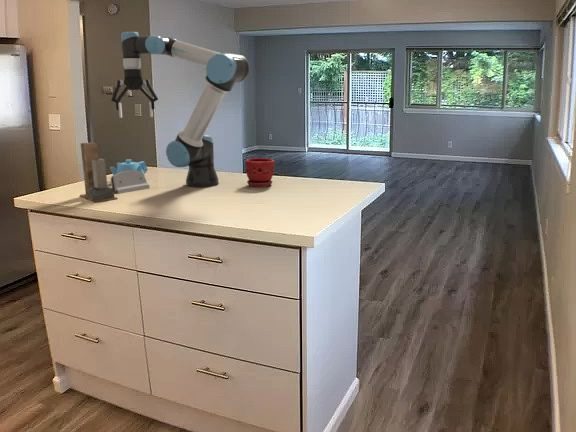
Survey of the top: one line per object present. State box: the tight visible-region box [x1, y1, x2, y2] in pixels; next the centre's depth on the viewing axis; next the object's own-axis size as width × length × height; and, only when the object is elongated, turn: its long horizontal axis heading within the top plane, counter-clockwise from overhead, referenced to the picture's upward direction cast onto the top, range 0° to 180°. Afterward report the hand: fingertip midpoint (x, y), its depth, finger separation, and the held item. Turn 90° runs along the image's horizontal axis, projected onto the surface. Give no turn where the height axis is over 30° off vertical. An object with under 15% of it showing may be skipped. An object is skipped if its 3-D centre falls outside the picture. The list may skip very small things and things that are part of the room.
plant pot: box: [245, 158, 275, 188], centre depth 261 cm, size 13×13×12 cm
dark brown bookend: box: [79, 142, 118, 203], centre depth 238 cm, size 17×10×23 cm, turn 40°
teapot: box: [109, 158, 148, 178], centre depth 276 cm, size 15×15×11 cm
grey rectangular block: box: [92, 158, 108, 190], centre depth 235 cm, size 4×4×16 cm
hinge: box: [110, 170, 150, 195], centre depth 255 cm, size 17×5×10 cm, turn 138°
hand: (136, 117), depth 257 cm, fingers open, 13 cm apart
